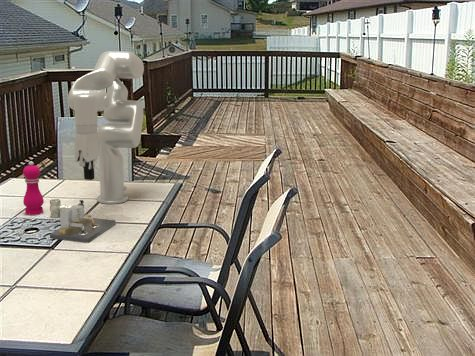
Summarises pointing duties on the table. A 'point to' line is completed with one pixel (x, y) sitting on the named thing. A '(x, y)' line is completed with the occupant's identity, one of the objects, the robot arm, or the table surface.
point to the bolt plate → (80, 228)
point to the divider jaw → (79, 214)
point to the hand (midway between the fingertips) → (89, 179)
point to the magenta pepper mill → (32, 190)
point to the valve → (59, 207)
